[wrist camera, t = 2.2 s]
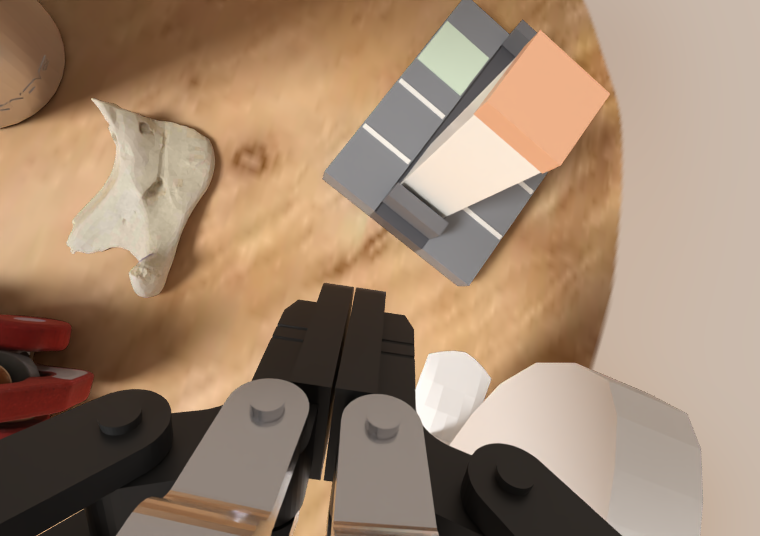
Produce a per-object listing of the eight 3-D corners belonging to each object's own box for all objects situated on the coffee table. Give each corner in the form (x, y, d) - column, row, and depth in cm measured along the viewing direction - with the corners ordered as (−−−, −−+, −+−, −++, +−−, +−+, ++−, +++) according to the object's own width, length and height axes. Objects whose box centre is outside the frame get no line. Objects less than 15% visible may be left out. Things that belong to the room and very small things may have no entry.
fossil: (56, 272, 27) (23, 270, 24) (115, 107, 28) (92, 82, 25) (172, 303, 28) (157, 305, 25) (225, 144, 30) (217, 125, 26)
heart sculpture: (423, 569, 30) (610, 951, 13) (355, 548, 30) (455, 927, 12) (500, 352, 32) (756, 426, 15) (438, 326, 31) (631, 373, 14)
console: (322, 178, 30) (327, 162, 26) (455, 12, 33) (478, -25, 29) (457, 286, 32) (481, 285, 28) (574, 119, 34) (611, 97, 31)
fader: (398, 185, 29) (486, 101, 16) (429, 143, 30) (540, 29, 17) (440, 220, 29) (560, 165, 17) (471, 178, 30) (610, 93, 17)
